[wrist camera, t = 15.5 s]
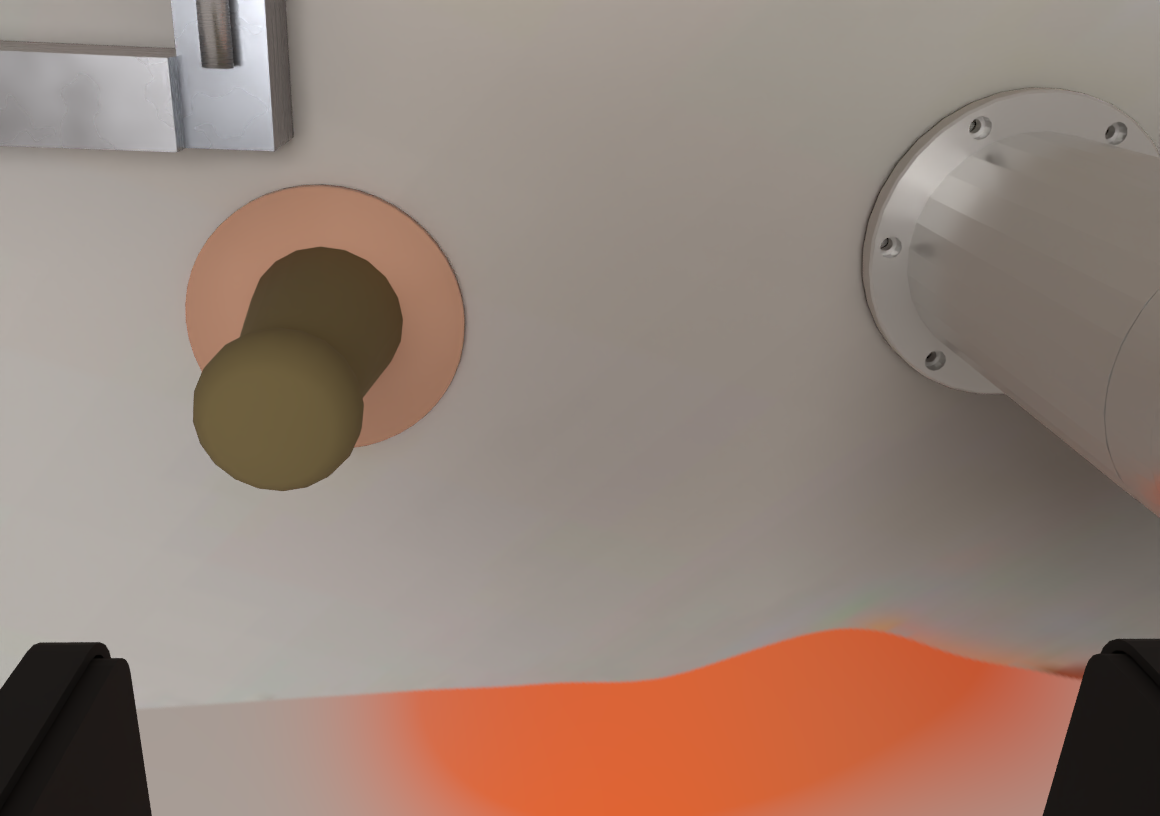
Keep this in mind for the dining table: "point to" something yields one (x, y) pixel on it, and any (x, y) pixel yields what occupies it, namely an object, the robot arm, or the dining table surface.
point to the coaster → (363, 231)
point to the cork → (298, 370)
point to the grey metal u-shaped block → (157, 86)
